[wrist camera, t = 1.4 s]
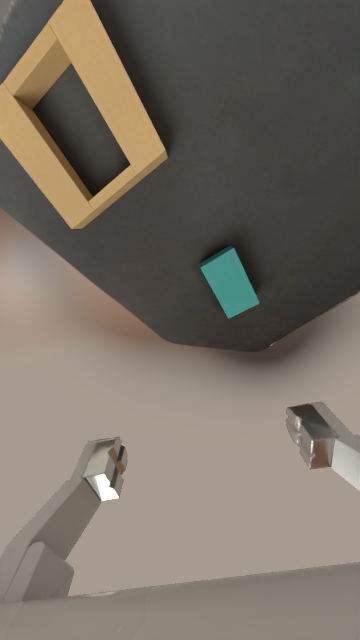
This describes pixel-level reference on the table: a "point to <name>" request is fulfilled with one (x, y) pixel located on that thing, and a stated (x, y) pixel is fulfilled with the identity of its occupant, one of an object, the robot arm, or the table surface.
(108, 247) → the table surface
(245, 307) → the teal block
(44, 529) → the robot arm
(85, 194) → the wooden slot frame
